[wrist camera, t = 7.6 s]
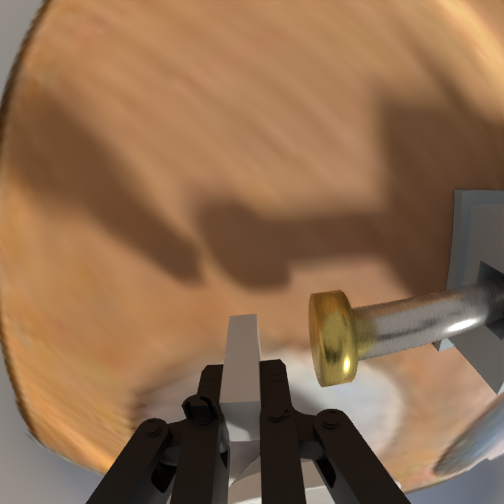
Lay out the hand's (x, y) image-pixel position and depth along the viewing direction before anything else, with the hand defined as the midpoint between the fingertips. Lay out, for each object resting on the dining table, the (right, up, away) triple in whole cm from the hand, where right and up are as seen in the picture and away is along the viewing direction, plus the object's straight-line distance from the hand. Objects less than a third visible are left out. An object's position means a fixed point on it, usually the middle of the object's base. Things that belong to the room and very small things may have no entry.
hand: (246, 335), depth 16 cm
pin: (+13, +2, +1) cm, 13 cm away
